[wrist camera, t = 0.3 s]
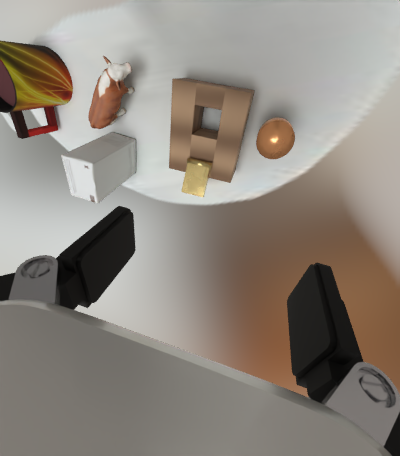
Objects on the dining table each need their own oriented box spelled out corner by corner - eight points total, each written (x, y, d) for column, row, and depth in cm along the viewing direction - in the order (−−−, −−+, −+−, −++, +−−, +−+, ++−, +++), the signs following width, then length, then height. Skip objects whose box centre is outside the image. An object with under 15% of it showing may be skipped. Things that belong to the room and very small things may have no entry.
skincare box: (112, 131, 45) (57, 150, 34) (138, 139, 45) (91, 161, 33) (114, 167, 50) (67, 195, 39) (137, 175, 50) (96, 205, 38)
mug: (59, 129, 49) (9, 142, 39) (19, 54, 41) (-54, 48, 32) (91, 121, 45) (44, 133, 36) (53, 38, 38) (-18, 26, 29)
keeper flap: (189, 157, 38) (187, 157, 36) (212, 163, 37) (211, 162, 36) (182, 191, 39) (180, 191, 38) (204, 197, 38) (203, 197, 37)
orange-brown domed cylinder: (264, 109, 35) (262, 117, 29) (295, 115, 35) (301, 125, 28) (255, 141, 39) (252, 154, 32) (283, 147, 38) (286, 162, 31)
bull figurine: (152, 71, 37) (126, 70, 30) (118, 128, 44) (92, 137, 38) (132, 49, 36) (102, 43, 29) (101, 111, 43) (72, 118, 37)
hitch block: (185, 78, 36) (172, 78, 31) (254, 90, 34) (251, 92, 30) (179, 158, 44) (169, 168, 40) (234, 171, 43) (230, 182, 38)
